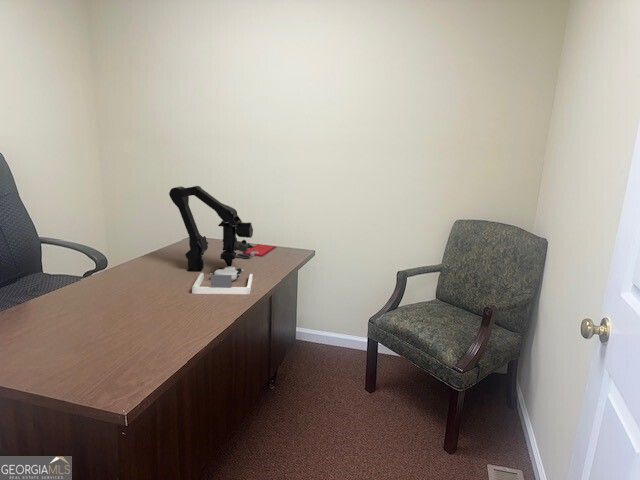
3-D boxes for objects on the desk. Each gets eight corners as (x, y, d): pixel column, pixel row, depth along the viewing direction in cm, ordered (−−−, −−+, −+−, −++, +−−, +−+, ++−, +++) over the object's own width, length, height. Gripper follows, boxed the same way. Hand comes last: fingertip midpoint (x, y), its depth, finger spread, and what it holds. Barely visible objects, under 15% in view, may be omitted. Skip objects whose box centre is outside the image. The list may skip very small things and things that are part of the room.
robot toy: (217, 274, 194) (209, 282, 179) (218, 264, 193) (209, 272, 178) (244, 275, 194) (238, 283, 179) (244, 266, 194) (238, 273, 179)
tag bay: (192, 293, 166) (191, 275, 164) (200, 278, 184) (200, 261, 183) (249, 294, 168) (249, 276, 166) (252, 279, 187) (252, 262, 185)
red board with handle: (230, 257, 220) (257, 261, 217) (230, 252, 219) (257, 255, 216) (251, 245, 249) (276, 248, 246) (252, 241, 248) (276, 244, 245)
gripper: (246, 241, 183) (246, 275, 186) (248, 232, 201) (248, 263, 204) (220, 240, 181) (220, 275, 185) (224, 231, 199) (225, 263, 203)
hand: (229, 269), depth 194 cm, fingers closed
